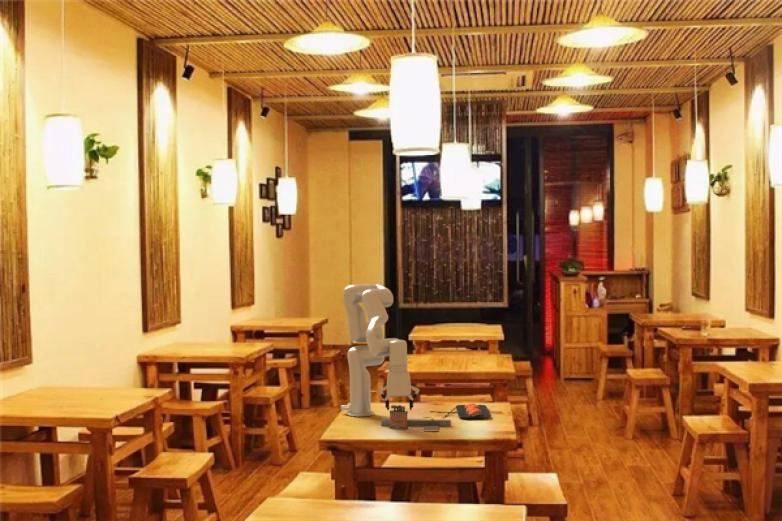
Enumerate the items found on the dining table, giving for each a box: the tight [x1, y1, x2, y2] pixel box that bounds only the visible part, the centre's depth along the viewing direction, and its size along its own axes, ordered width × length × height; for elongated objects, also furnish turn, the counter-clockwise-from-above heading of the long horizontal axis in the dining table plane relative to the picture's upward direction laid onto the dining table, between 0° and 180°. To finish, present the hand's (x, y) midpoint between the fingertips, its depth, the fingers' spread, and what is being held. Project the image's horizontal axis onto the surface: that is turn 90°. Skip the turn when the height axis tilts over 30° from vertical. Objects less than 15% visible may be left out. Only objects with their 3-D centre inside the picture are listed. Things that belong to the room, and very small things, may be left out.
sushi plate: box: [429, 403, 492, 420], centre depth 396 cm, size 29×30×4 cm
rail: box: [380, 417, 452, 427], centre depth 371 cm, size 30×2×3 cm, turn 85°
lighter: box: [389, 404, 409, 431], centre depth 365 cm, size 8×3×10 cm, turn 71°
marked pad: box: [423, 425, 440, 433], centre depth 364 cm, size 6×11×1 cm, turn 175°
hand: (399, 409), depth 365 cm, fingers open, 9 cm apart
